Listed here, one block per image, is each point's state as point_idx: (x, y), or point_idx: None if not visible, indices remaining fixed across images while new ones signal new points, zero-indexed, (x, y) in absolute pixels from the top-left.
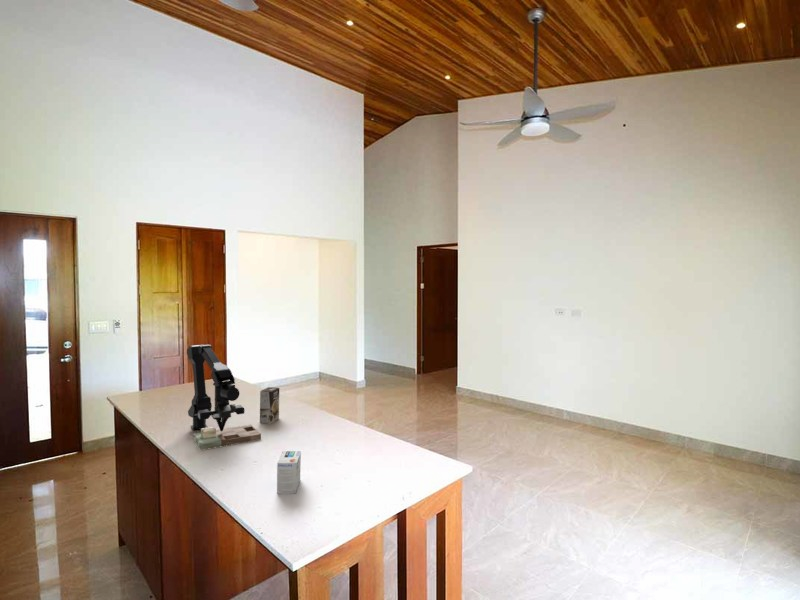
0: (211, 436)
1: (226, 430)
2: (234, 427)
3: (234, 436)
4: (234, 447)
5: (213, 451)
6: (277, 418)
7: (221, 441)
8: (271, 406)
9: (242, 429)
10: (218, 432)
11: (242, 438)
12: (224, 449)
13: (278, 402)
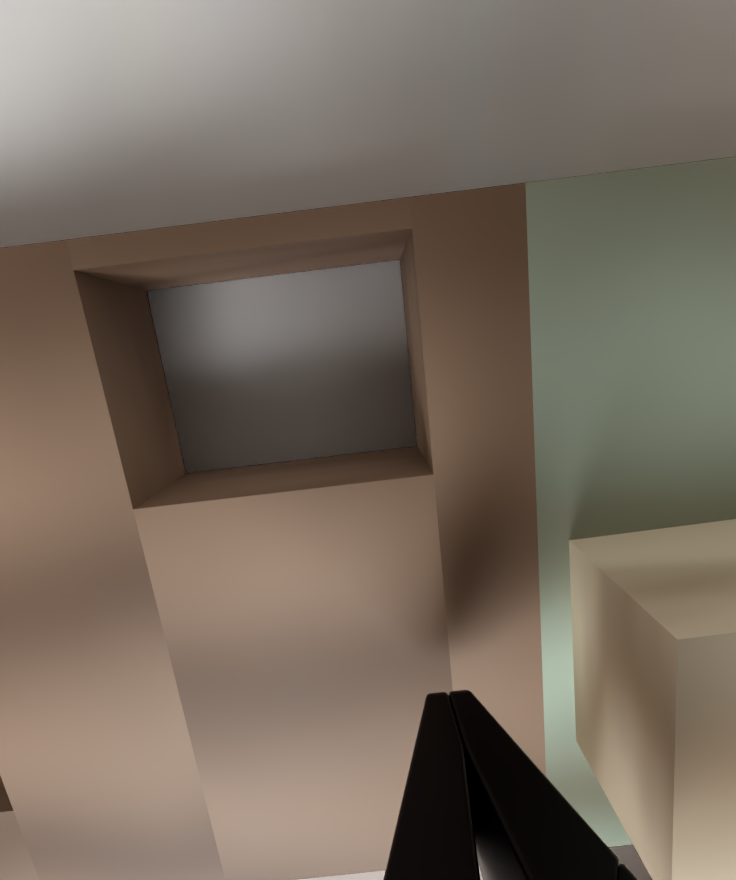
0: (670, 535)
1: (327, 782)
2: (172, 877)
3: (209, 490)
4: (261, 65)
5: (657, 10)
6: None
7: (513, 189)
8: None
9: (24, 733)
10: None
11: (41, 251)
12: (452, 33)
13: None
